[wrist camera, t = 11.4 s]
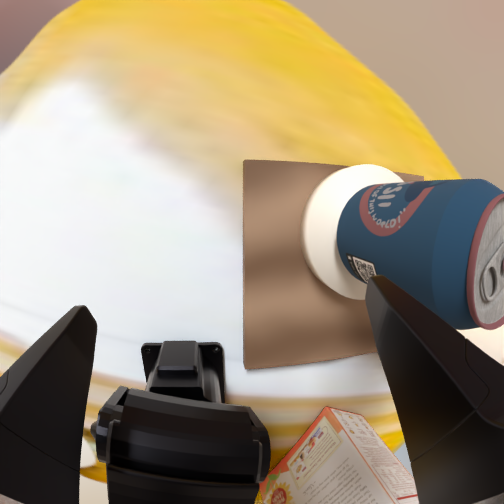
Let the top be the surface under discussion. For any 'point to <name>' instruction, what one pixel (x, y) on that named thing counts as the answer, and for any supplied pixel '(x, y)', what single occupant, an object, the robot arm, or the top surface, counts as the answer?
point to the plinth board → (302, 263)
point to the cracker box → (339, 466)
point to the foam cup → (488, 341)
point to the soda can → (431, 245)
